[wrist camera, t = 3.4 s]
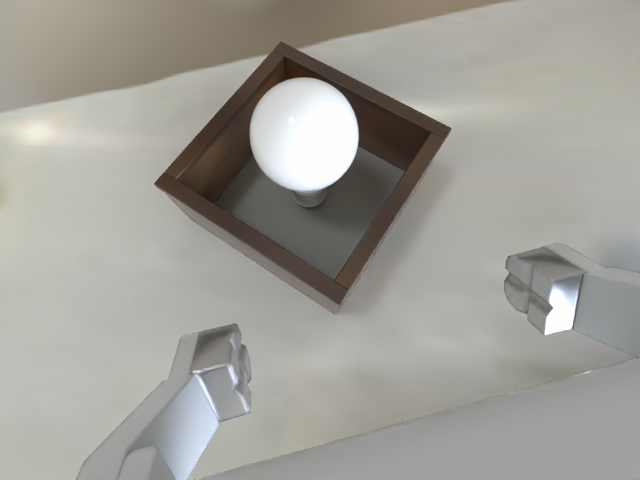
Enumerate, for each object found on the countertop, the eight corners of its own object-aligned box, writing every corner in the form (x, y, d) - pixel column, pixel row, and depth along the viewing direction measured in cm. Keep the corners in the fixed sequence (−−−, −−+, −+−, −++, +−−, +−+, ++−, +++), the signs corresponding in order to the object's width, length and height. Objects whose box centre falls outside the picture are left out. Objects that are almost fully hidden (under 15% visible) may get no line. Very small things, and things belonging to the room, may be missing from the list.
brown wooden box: (288, 97, 31) (280, 41, 26) (427, 172, 29) (452, 128, 23) (187, 218, 28) (153, 183, 22) (336, 317, 25) (339, 305, 20)
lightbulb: (334, 151, 29) (339, 37, 19) (360, 218, 27) (383, 133, 17) (261, 173, 29) (225, 67, 18) (282, 243, 27) (256, 170, 16)
